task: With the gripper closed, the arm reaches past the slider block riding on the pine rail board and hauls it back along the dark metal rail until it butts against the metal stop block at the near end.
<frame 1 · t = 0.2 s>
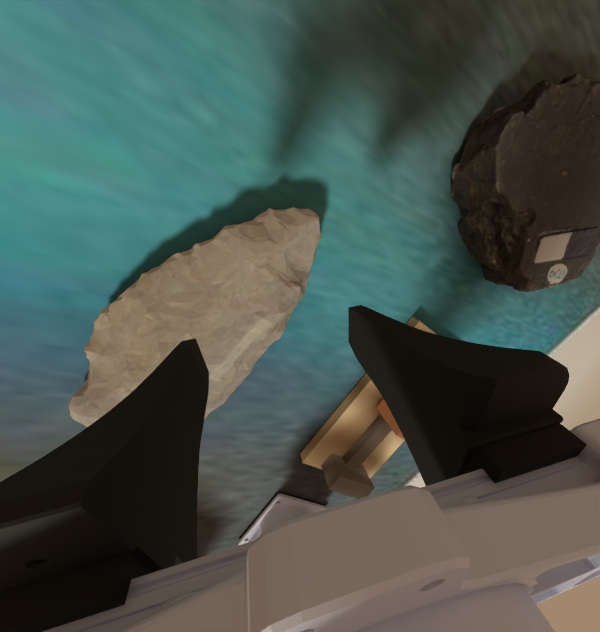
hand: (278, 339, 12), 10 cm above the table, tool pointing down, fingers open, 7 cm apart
stone tool: (205, 319, 22), on the table
rock sample: (516, 195, 24), on the table
slider block: (412, 414, 26), point 3 cm above the table, slide at 2.0 cm
rail board: (383, 405, 29), on the table
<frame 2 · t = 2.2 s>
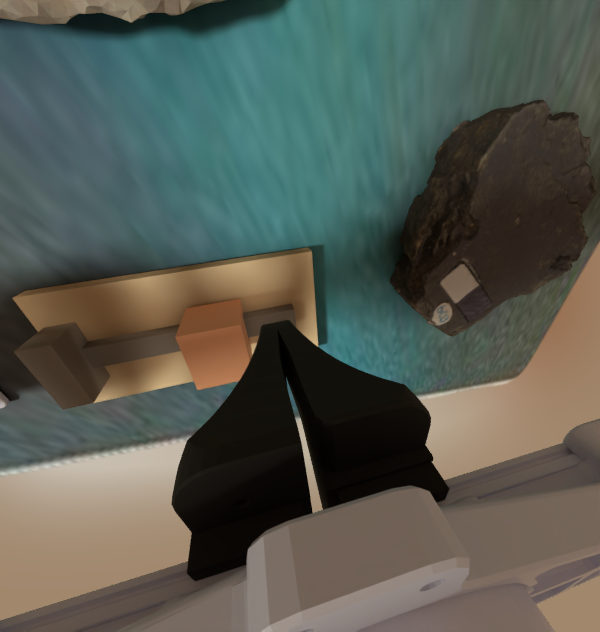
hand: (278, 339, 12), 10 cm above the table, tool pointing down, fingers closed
rock sample: (464, 232, 23), on the table
slider block: (219, 342, 18), point 3 cm above the table, slide at 2.0 cm
rail board: (197, 323, 21), on the table
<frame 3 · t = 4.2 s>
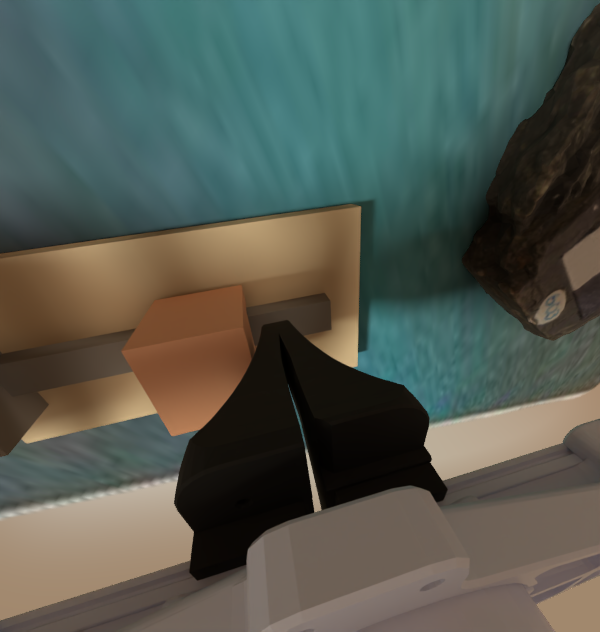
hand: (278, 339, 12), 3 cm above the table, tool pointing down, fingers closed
rock sample: (572, 188, 16), on the table
slider block: (209, 355, 11), point 3 cm above the table, slide at 1.8 cm, touching gripper
rail board: (182, 324, 14), on the table
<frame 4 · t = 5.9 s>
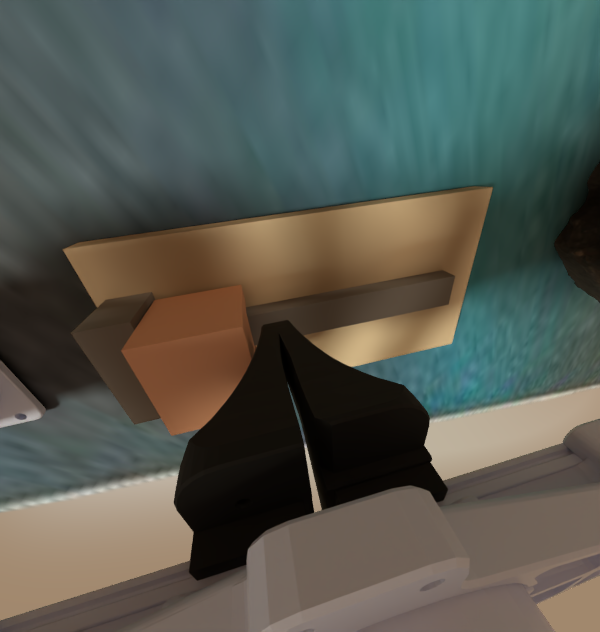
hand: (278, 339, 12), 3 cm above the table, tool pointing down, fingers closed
slider block: (208, 355, 11), point 3 cm above the table, slide at -5.4 cm, touching gripper
rail board: (306, 300, 15), on the table
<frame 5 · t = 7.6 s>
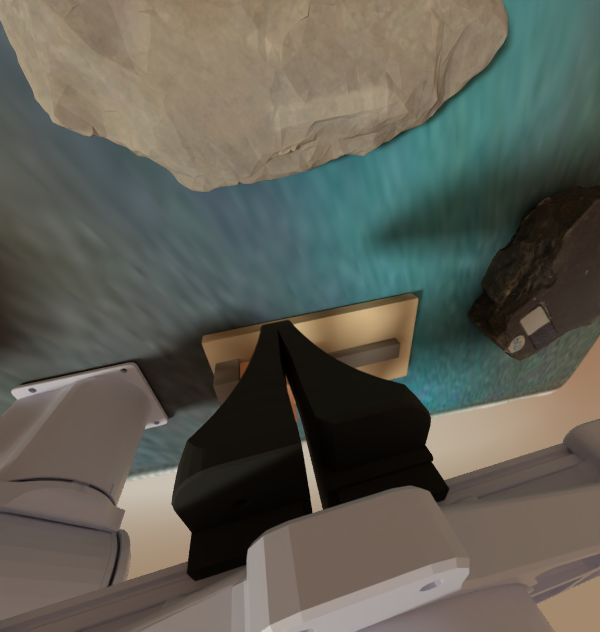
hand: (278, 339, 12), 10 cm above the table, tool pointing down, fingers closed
stone tool: (283, 72, 15), on the table
rock sample: (531, 273, 27), on the table
slider block: (268, 391, 22), point 3 cm above the table, slide at -5.4 cm
rail board: (316, 354, 26), on the table
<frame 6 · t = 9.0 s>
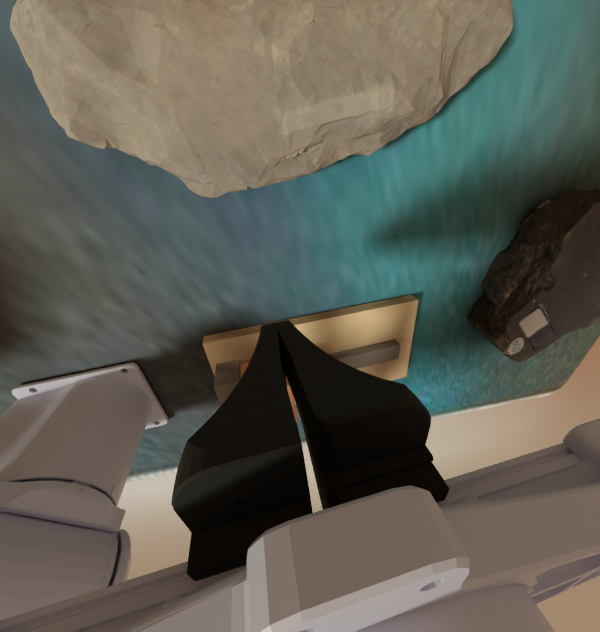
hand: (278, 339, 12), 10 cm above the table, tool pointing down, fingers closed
stone tool: (288, 75, 15), on the table
rock sample: (530, 276, 28), on the table
slider block: (268, 392, 22), point 3 cm above the table, slide at -5.4 cm
rail board: (317, 355, 26), on the table
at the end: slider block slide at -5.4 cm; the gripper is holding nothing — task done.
